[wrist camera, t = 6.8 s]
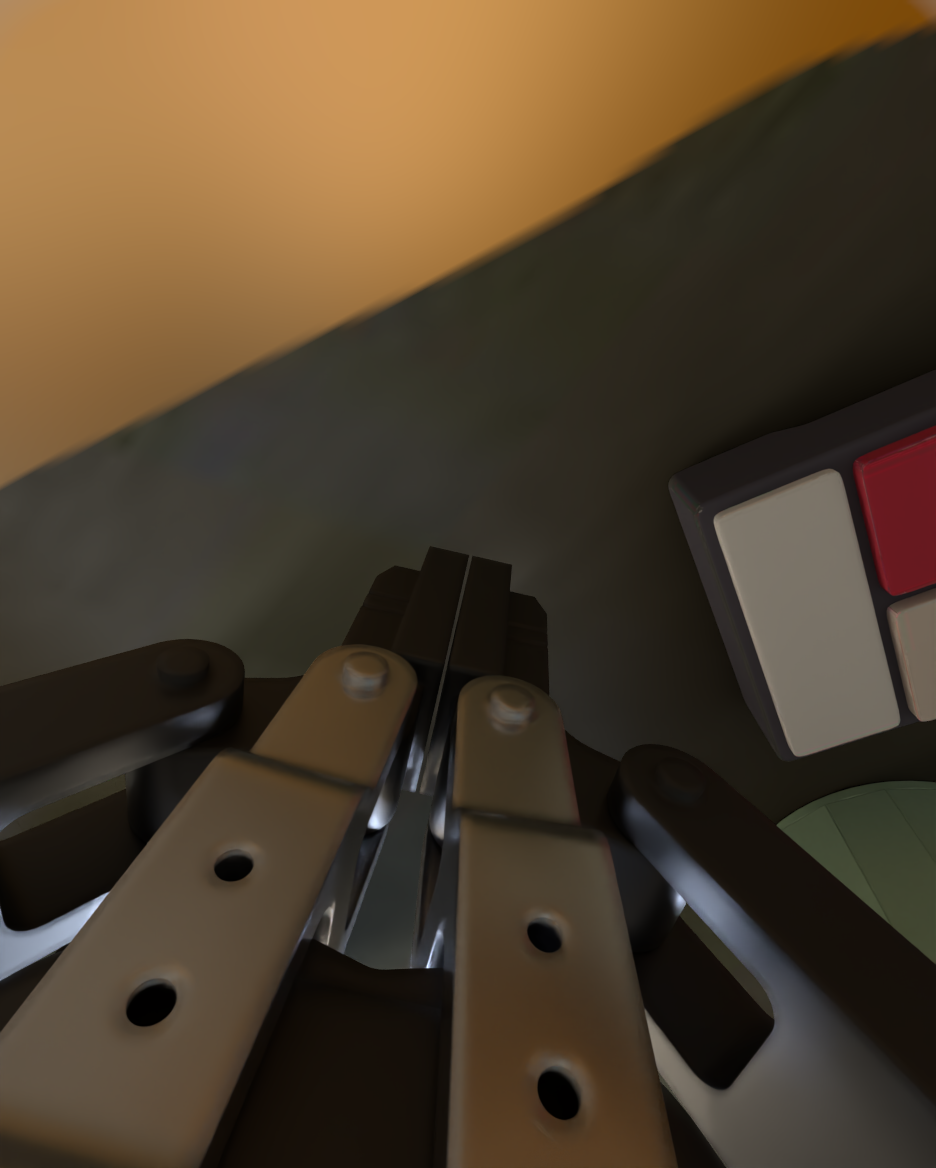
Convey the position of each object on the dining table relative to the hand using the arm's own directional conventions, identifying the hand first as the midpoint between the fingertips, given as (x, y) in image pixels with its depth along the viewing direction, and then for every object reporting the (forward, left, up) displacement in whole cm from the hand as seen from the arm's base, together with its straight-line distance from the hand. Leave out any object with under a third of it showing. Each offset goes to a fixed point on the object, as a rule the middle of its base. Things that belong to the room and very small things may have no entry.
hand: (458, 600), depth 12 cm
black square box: (+16, 0, -13) cm, 20 cm away
